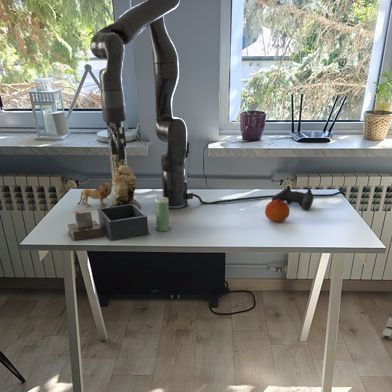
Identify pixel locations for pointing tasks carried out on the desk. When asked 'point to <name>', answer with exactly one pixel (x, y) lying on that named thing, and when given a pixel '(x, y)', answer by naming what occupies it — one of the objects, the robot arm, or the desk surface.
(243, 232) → the desk surface
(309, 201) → the gaming controller
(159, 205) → the green tube
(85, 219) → the tap knob
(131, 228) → the gray open box
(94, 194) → the lion figurine
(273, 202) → the fruit
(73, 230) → the panel
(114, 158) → the birch log
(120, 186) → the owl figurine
